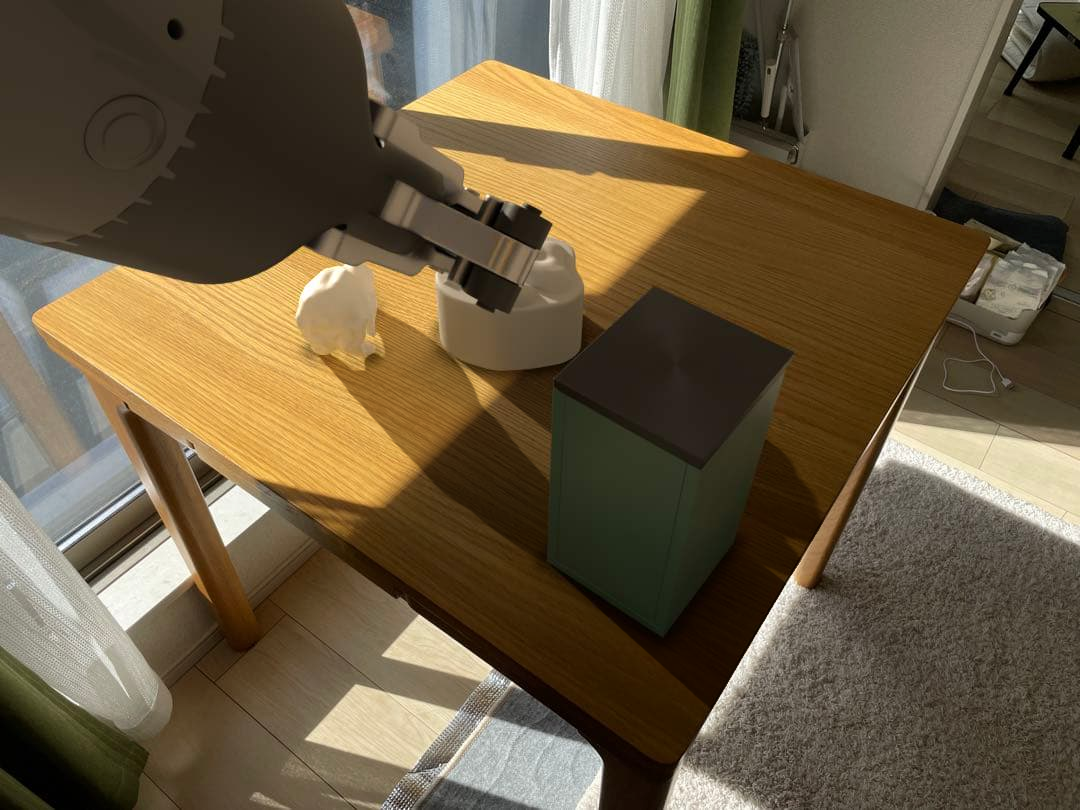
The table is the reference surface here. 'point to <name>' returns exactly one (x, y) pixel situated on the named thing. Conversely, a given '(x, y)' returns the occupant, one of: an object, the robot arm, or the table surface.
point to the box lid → (675, 374)
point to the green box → (645, 508)
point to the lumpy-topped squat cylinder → (518, 317)
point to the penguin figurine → (339, 310)
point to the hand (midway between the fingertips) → (498, 252)
